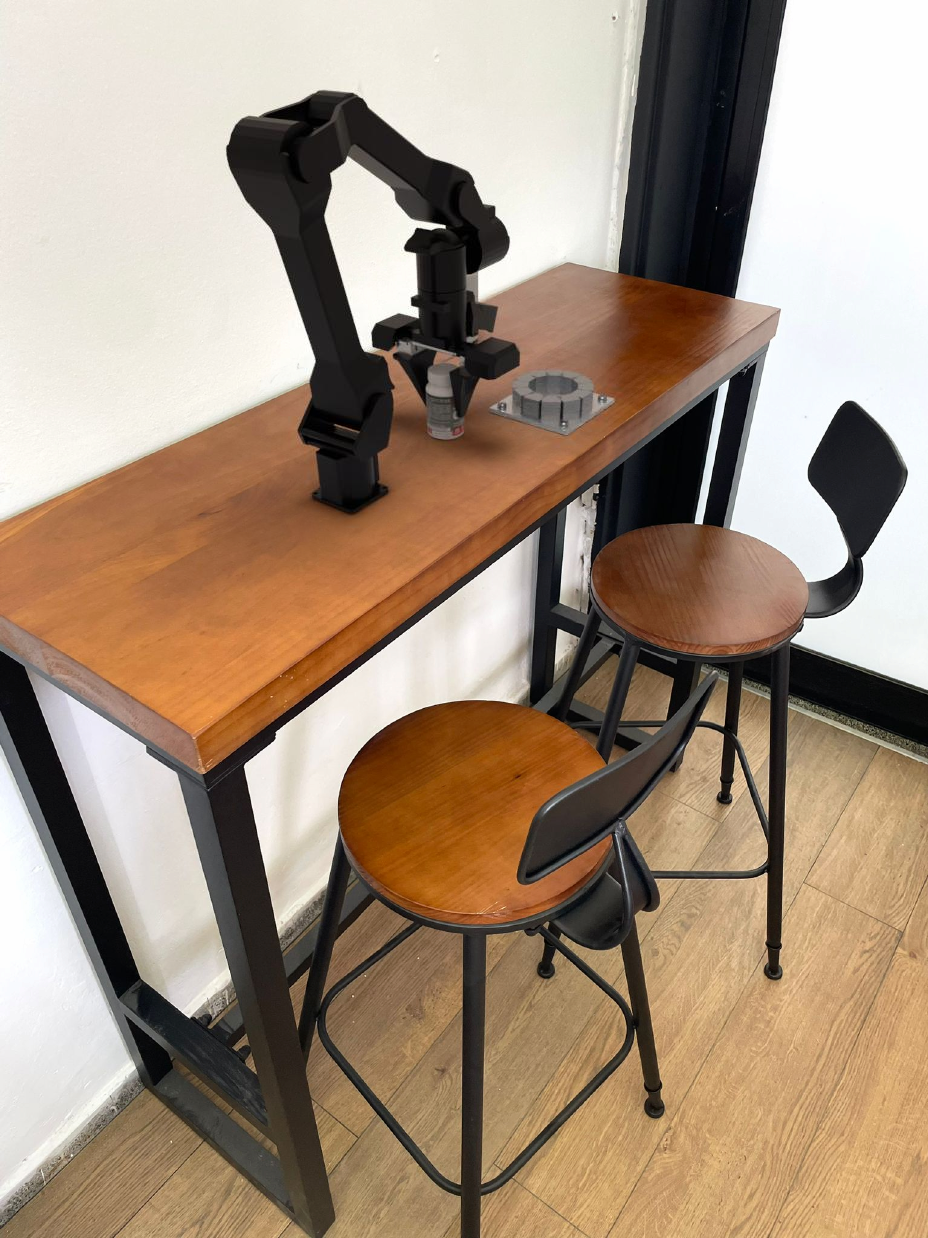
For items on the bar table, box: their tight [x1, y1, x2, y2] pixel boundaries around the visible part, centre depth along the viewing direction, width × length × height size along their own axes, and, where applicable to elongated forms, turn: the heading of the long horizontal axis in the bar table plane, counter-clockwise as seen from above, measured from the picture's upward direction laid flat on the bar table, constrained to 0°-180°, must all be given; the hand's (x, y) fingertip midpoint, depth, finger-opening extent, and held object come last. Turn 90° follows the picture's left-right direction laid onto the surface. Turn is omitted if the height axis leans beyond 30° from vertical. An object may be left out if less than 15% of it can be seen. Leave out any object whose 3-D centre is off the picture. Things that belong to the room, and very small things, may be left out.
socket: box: [488, 368, 615, 436], centre depth 122 cm, size 12×12×3 cm
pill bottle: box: [426, 362, 466, 441], centre depth 115 cm, size 5×5×8 cm
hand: (445, 411), depth 116 cm, fingers closed on pill bottle, 5 cm apart
